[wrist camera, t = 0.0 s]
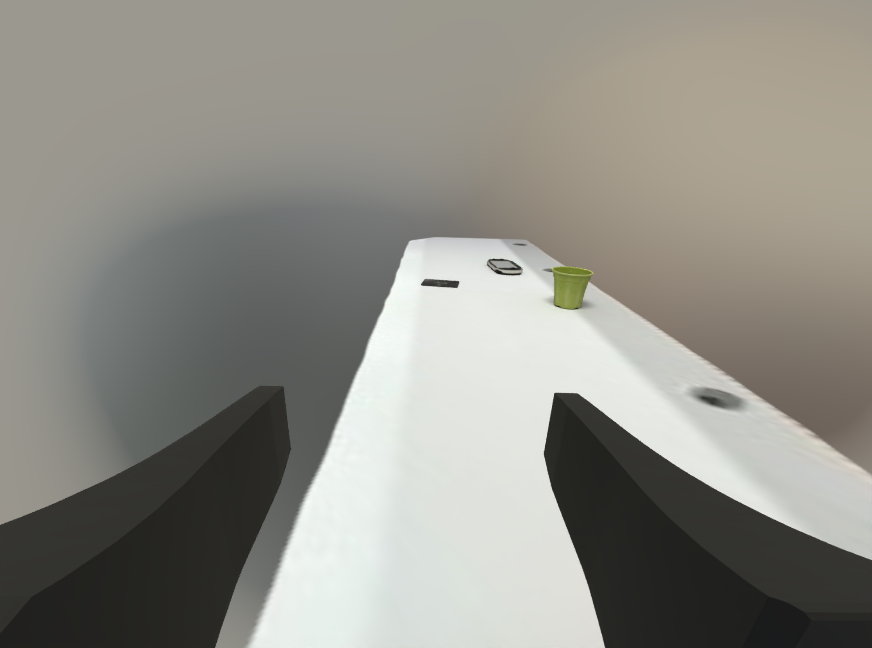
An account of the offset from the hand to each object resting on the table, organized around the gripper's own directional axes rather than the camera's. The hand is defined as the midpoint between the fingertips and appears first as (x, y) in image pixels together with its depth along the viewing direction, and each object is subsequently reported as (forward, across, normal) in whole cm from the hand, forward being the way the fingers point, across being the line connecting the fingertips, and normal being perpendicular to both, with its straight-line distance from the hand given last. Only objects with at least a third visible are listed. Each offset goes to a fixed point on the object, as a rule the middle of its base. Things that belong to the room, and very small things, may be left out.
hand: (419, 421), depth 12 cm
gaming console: (+130, -27, +34) cm, 136 cm away
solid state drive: (+106, -5, +32) cm, 110 cm away
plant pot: (+87, -35, +30) cm, 98 cm away
